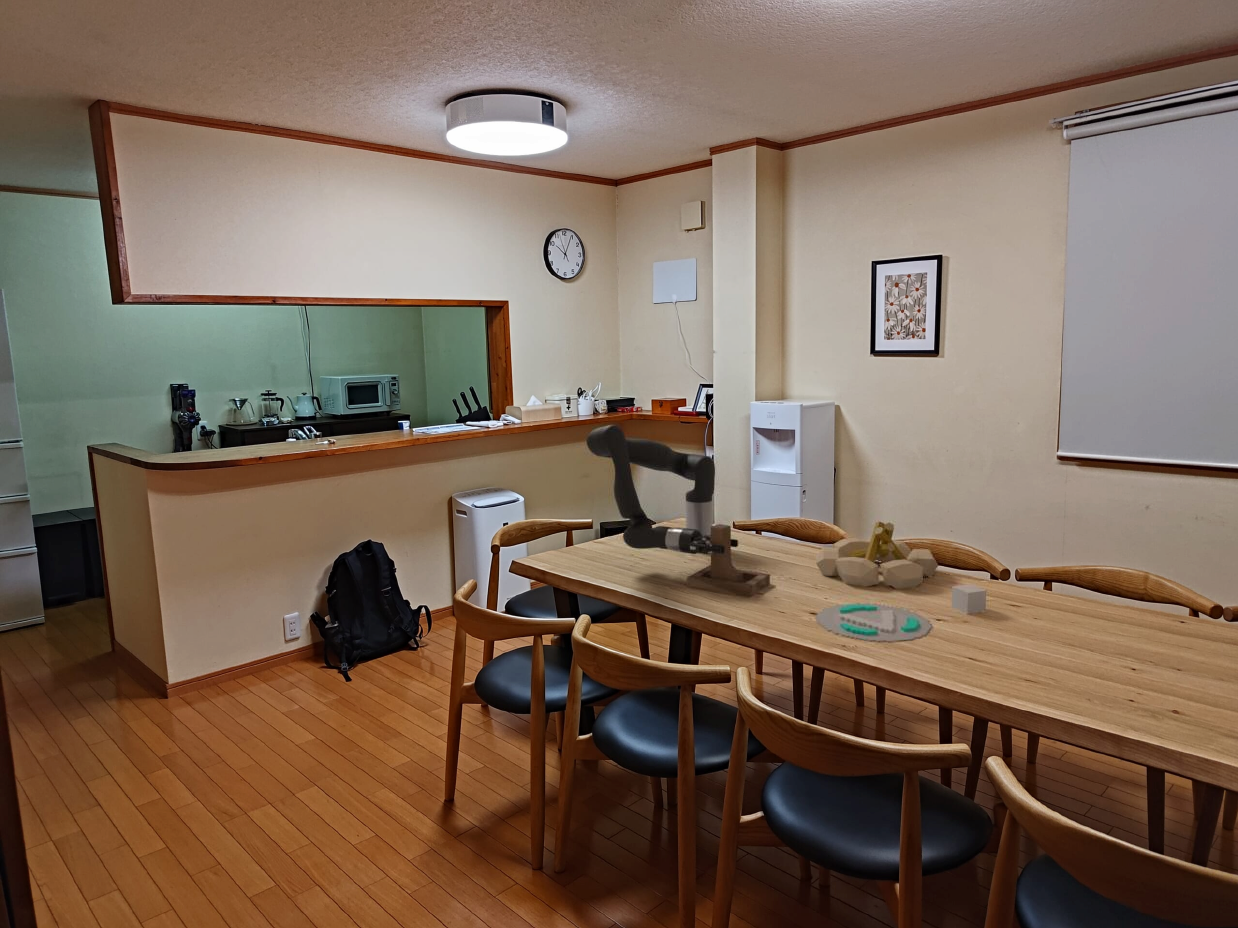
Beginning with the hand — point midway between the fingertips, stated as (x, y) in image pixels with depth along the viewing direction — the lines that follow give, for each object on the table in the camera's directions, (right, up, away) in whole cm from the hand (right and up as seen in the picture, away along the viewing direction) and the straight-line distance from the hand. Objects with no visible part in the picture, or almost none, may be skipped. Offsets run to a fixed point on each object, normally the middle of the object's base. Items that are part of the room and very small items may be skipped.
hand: (731, 546), depth 243 cm
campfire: (+46, -10, +12) cm, 49 cm away
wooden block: (-1, -12, +2) cm, 12 cm away
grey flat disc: (+32, -17, -31) cm, 48 cm away
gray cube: (+60, -15, -23) cm, 66 cm away
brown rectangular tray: (0, -12, +2) cm, 12 cm away
